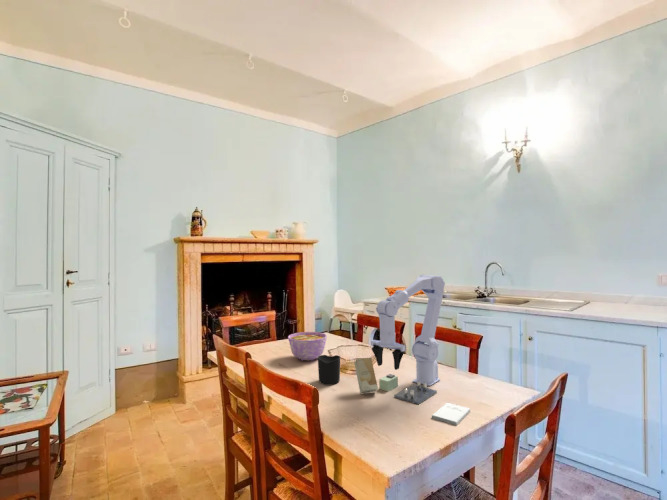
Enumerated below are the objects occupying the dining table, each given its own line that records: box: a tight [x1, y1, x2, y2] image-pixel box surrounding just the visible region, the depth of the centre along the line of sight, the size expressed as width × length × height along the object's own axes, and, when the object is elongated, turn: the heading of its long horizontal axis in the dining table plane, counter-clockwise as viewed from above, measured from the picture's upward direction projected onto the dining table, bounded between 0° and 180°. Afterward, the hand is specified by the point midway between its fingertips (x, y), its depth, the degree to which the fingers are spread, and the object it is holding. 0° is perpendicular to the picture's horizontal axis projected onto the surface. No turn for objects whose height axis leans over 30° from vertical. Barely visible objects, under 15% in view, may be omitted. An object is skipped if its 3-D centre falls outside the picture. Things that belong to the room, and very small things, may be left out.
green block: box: [378, 373, 399, 392], centre depth 143 cm, size 7×4×5 cm, turn 137°
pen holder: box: [317, 354, 341, 386], centre depth 151 cm, size 9×9×10 cm
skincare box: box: [354, 357, 379, 394], centre depth 139 cm, size 6×4×12 cm
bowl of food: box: [287, 331, 328, 361], centre depth 184 cm, size 20×20×12 cm
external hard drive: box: [431, 402, 471, 426], centre depth 118 cm, size 2×8×12 cm
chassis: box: [393, 381, 438, 405], centre depth 134 cm, size 14×10×3 cm
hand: (388, 367), depth 138 cm, fingers open, 7 cm apart
